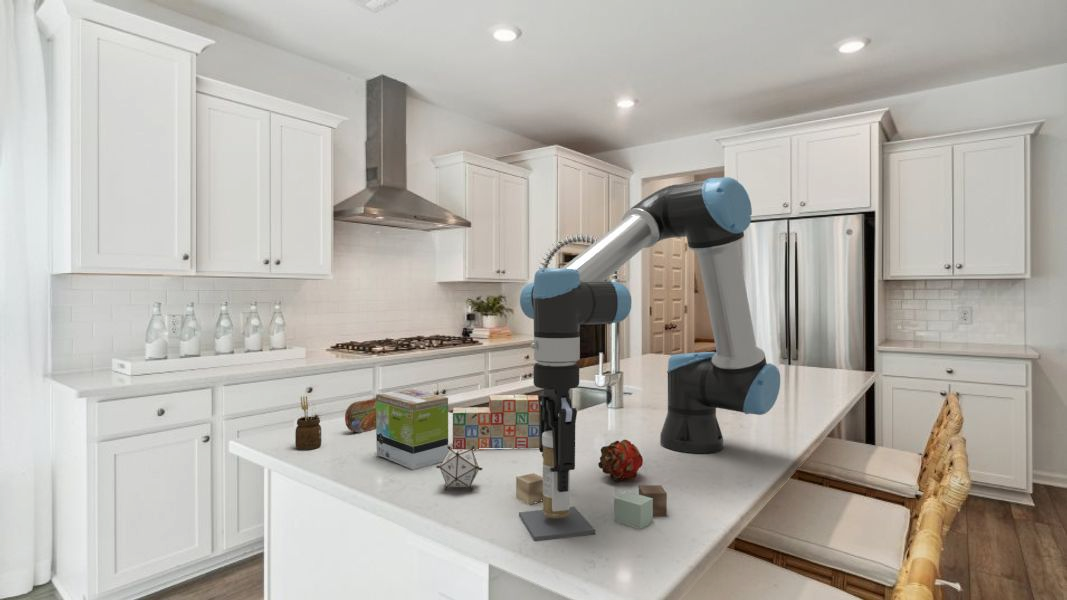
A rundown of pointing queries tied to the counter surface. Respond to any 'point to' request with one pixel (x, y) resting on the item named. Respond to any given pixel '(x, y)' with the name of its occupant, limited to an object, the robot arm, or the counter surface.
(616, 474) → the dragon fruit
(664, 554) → the counter surface
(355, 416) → the tin
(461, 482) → the game die
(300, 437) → the utensil holder
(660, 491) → the walnut block
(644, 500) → the sage painted block
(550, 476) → the sprinkles bottle
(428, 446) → the tea box
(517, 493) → the oak block
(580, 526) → the slate mat
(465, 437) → the stack of blocks
